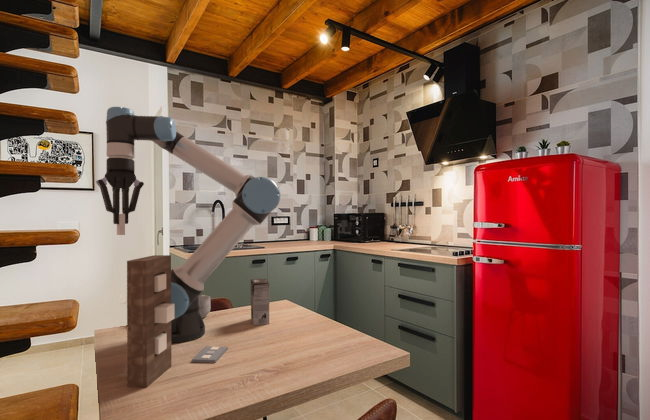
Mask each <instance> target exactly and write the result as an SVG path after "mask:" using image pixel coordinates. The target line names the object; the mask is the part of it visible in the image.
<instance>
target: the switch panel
mask: <svg viewBox="0 0 650 420" xmlns="http://www.w3.org/2000/svg"><path fill="white" fill-rule="evenodd" d="M171 270H172V255H170V254H169V255H168V254H166V255H162V254H161V255H160V254H159V255H157V254H156V255H149V256H145V257H140V258H135V259H130V260H126V320H127V322H126V326H127V327H126V331H127V333H126V337H127V338H126V342H127V343H126V345H127V346H126V349H127V350H126V352H127V353H126V355H127V356H126V357H127V359H126V361H127V364H126V365H127V370H126V374H127V377H126V379H127V382H126V383H127V388H148V387H149V386H150V385H151V384H153V383H154V382H155V381H156V380H157V379H159V378H160V377H161V376H162V375H163V374H165V372H167V371H168V370H169V369H170V368H172V342H171V321H170V322H168V323H155V320H154V306H156V305H158V304H171ZM155 274H166V289H164V290H162V291H159V292H154V275H155ZM161 333H167V349H165V350H164V351H162V352H161V353H160V354H155V337H156V336H158V335H159V334H161Z"/></svg>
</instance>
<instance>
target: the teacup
mask: <svg viewBox="0 0 650 420" xmlns="http://www.w3.org/2000/svg"><path fill="white" fill-rule="evenodd" d="M211 306H212V305H211V296H210V295H205V294H202V295H201V294H200V313H201V316H202V319H203V318H206V317H207V316H208V314H210V312H211V309H212V308H211Z"/></svg>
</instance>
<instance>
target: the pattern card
mask: <svg viewBox="0 0 650 420" xmlns="http://www.w3.org/2000/svg"><path fill="white" fill-rule="evenodd" d="M227 351H228V346H208V345H207V346H205V347H204V348H203V349H202V350H200V352H198V353H197V354H196V355H195V356H194V357H193V358H192V359H191V362H192V363H217V362H218V361H219V360H220V358H221V357H222V356H223V355H224V354H225V353H226V352H227Z"/></svg>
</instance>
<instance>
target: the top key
mask: <svg viewBox="0 0 650 420" xmlns="http://www.w3.org/2000/svg"><path fill="white" fill-rule="evenodd" d="M164 289H166V274H155V275H154V292H159V291H162V290H164Z"/></svg>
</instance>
